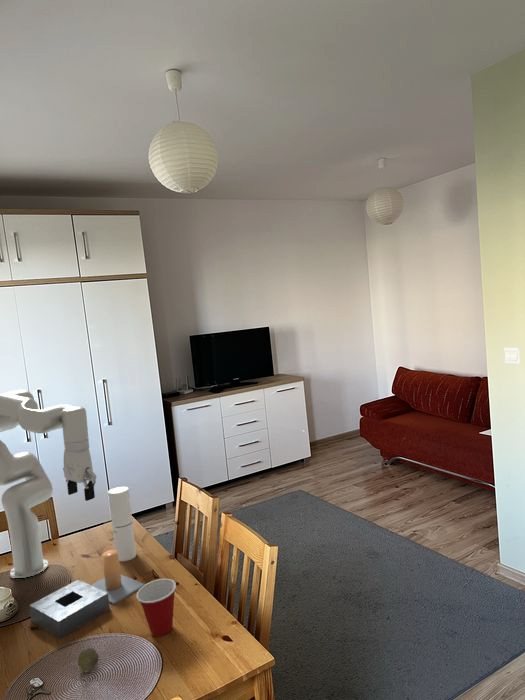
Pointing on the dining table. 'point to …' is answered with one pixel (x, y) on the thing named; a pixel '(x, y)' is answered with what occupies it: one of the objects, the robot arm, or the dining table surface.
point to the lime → (88, 660)
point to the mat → (119, 589)
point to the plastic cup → (158, 605)
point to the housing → (69, 608)
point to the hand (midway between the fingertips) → (81, 496)
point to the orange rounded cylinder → (111, 570)
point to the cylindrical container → (122, 523)
